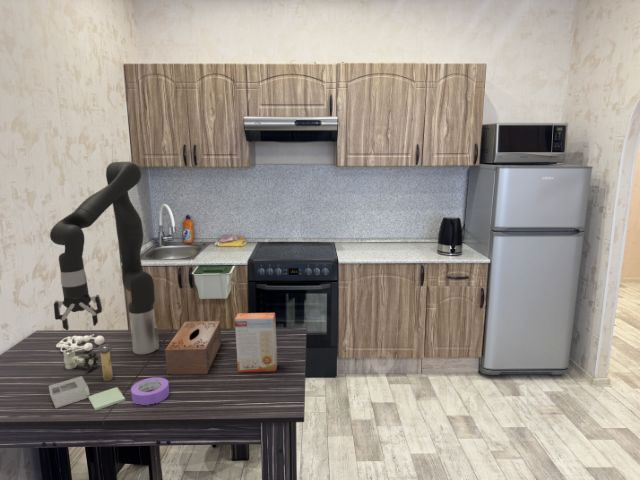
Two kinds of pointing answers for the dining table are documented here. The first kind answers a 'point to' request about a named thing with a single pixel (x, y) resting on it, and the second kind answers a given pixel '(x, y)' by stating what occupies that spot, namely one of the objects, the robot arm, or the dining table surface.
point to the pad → (106, 398)
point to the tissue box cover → (193, 348)
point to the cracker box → (256, 342)
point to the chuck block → (69, 391)
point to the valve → (78, 360)
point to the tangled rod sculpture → (79, 340)
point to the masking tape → (154, 396)
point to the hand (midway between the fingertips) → (81, 327)
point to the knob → (106, 361)
